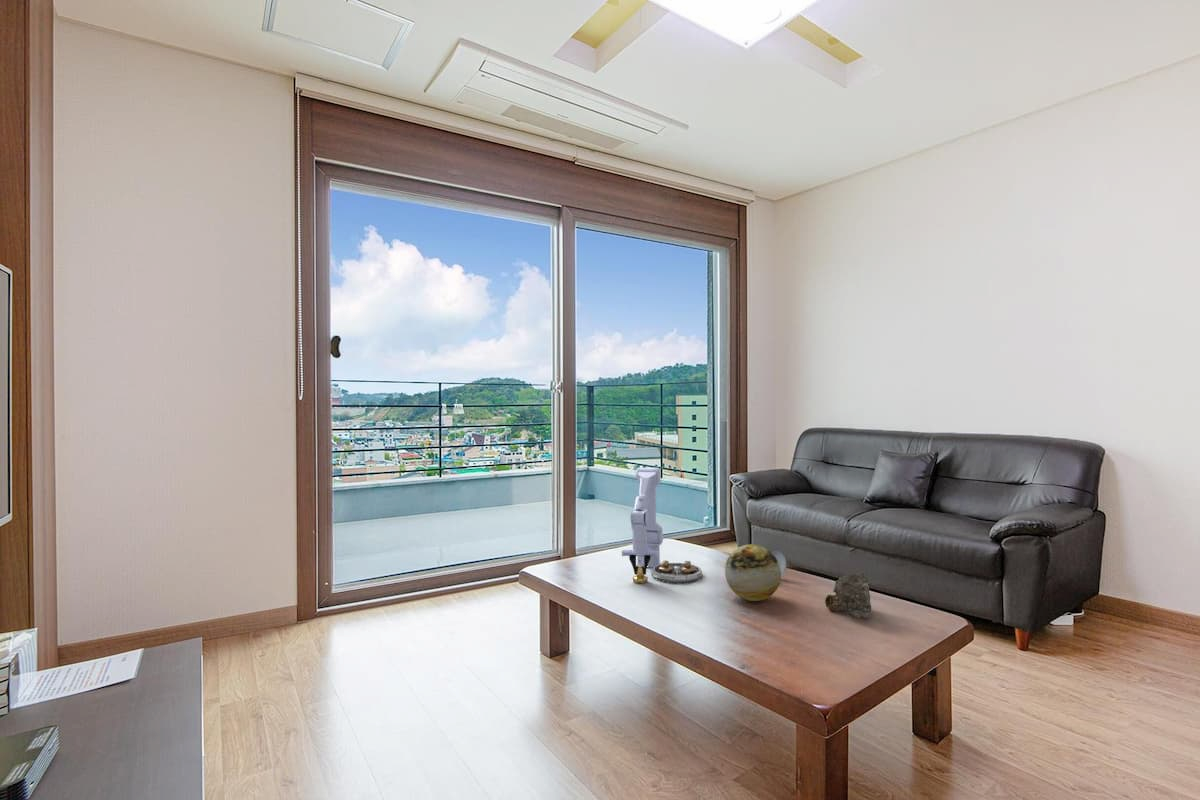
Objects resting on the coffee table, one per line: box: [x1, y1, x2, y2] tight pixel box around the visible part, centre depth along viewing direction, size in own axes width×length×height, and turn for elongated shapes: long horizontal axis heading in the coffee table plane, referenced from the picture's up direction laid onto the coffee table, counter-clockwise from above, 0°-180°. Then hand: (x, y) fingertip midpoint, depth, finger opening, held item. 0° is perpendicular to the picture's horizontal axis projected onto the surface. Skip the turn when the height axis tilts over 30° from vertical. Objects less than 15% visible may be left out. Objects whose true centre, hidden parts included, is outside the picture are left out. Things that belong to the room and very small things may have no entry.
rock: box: [824, 572, 874, 620], centre depth 206 cm, size 18×14×15 cm
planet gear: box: [632, 564, 649, 584], centre depth 245 cm, size 6×6×6 cm
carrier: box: [651, 560, 703, 584], centre depth 253 cm, size 21×21×5 cm
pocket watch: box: [771, 550, 787, 576], centre depth 244 cm, size 10×11×15 cm
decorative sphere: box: [724, 543, 782, 602], centre depth 222 cm, size 20×20×20 cm
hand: (640, 573), depth 245 cm, fingers closed on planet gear, 3 cm apart
